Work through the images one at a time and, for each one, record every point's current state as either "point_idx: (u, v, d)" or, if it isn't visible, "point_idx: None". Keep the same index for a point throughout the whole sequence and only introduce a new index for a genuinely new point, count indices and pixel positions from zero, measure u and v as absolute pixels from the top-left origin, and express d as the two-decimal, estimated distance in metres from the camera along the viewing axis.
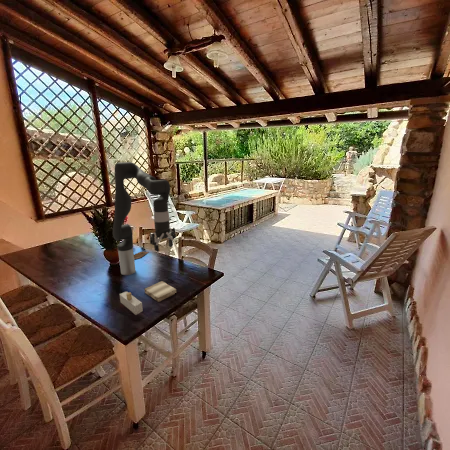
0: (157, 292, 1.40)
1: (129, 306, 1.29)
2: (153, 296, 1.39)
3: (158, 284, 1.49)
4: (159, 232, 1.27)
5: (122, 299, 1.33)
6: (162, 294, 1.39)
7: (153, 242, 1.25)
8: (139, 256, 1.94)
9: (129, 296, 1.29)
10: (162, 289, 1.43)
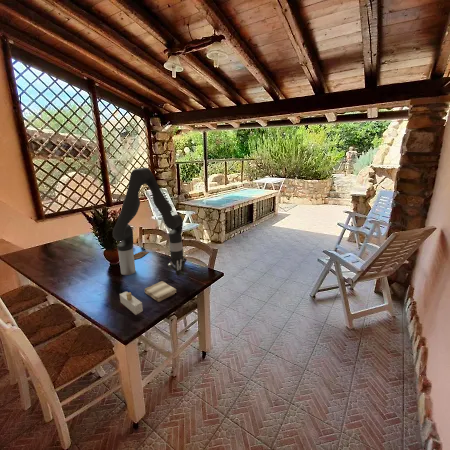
0: (157, 292, 1.40)
1: (129, 306, 1.29)
2: (153, 296, 1.39)
3: (158, 284, 1.49)
4: (174, 260, 1.46)
5: (122, 299, 1.33)
6: (162, 294, 1.39)
7: (174, 269, 1.48)
8: (139, 256, 1.94)
9: (129, 296, 1.29)
10: (162, 289, 1.43)
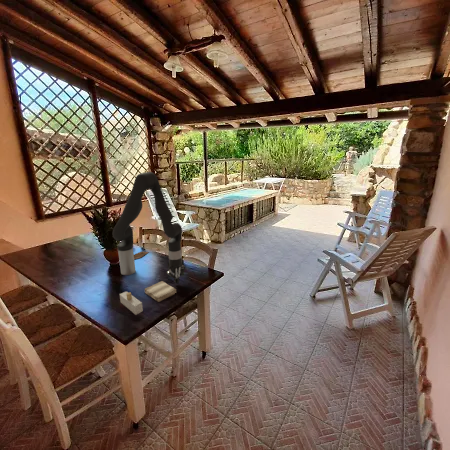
0: (157, 292, 1.40)
1: (129, 306, 1.29)
2: (153, 296, 1.39)
3: (158, 284, 1.49)
4: (173, 268, 1.47)
5: (122, 299, 1.33)
6: (162, 294, 1.39)
7: (173, 277, 1.48)
8: (139, 256, 1.94)
9: (129, 296, 1.29)
10: (162, 289, 1.43)
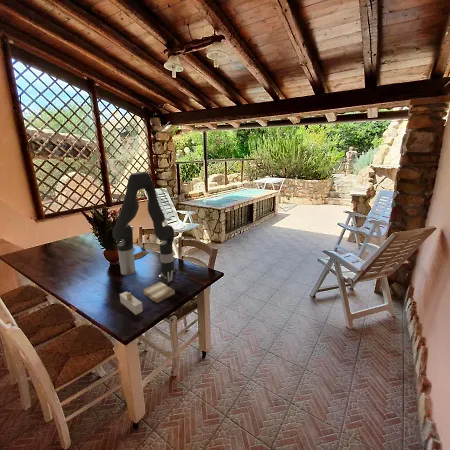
0: (155, 293, 1.40)
1: (129, 306, 1.29)
2: (151, 297, 1.38)
3: (156, 285, 1.48)
4: (165, 271, 1.43)
5: (122, 299, 1.33)
6: (160, 295, 1.38)
7: (165, 280, 1.44)
8: (139, 256, 1.94)
9: (129, 296, 1.29)
10: (160, 290, 1.43)
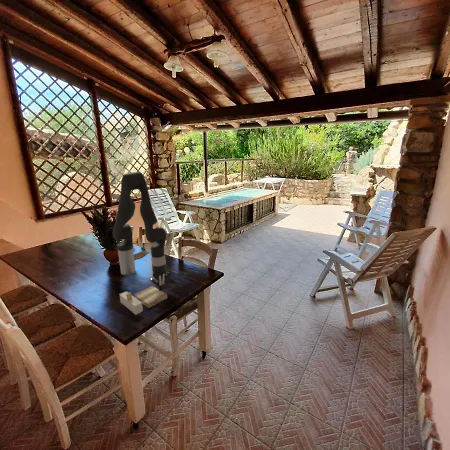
0: (147, 298, 1.35)
1: (129, 306, 1.29)
2: (142, 302, 1.34)
3: (148, 289, 1.44)
4: (156, 274, 1.39)
5: (122, 299, 1.33)
6: (152, 300, 1.34)
7: (156, 284, 1.40)
8: (139, 256, 1.94)
9: (129, 296, 1.29)
10: (152, 295, 1.38)
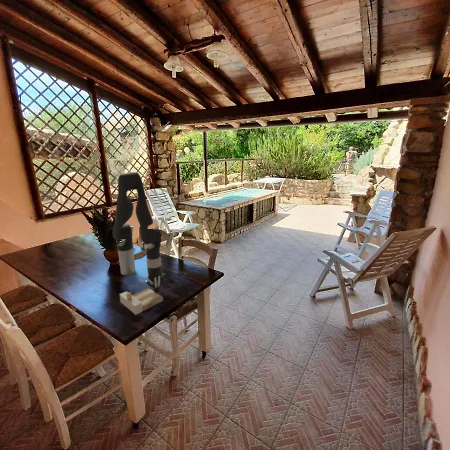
0: (142, 301, 1.33)
1: (129, 306, 1.29)
2: None
3: (144, 291, 1.42)
4: (152, 276, 1.37)
5: (122, 299, 1.33)
6: (147, 302, 1.31)
7: (152, 286, 1.38)
8: (139, 256, 1.94)
9: (129, 296, 1.29)
10: (148, 297, 1.36)
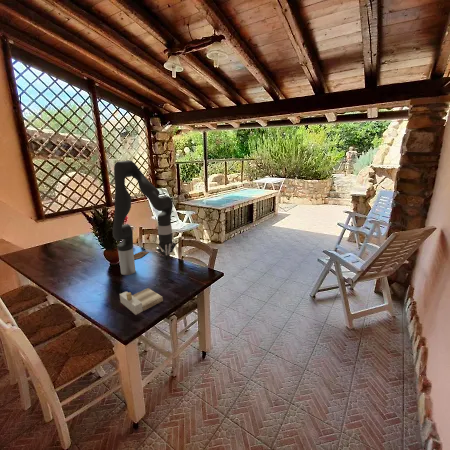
0: (142, 301, 1.33)
1: (129, 306, 1.29)
2: None
3: (144, 291, 1.42)
4: (162, 244, 1.39)
5: (122, 299, 1.33)
6: (147, 302, 1.31)
7: (162, 253, 1.41)
8: (139, 256, 1.94)
9: (129, 296, 1.29)
10: (147, 297, 1.36)
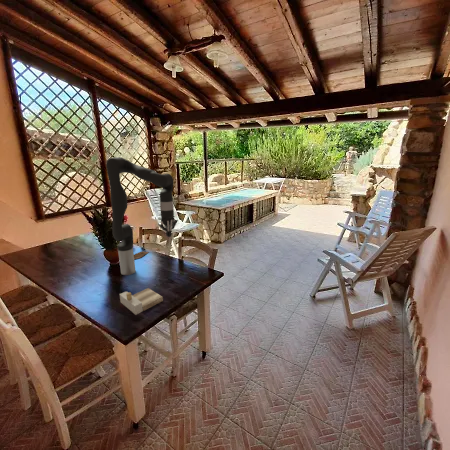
0: (142, 301, 1.33)
1: (129, 306, 1.29)
2: None
3: (144, 291, 1.42)
4: (165, 219, 1.46)
5: (122, 299, 1.33)
6: (147, 302, 1.31)
7: (165, 229, 1.47)
8: (139, 256, 1.94)
9: (129, 296, 1.29)
10: (147, 297, 1.36)
